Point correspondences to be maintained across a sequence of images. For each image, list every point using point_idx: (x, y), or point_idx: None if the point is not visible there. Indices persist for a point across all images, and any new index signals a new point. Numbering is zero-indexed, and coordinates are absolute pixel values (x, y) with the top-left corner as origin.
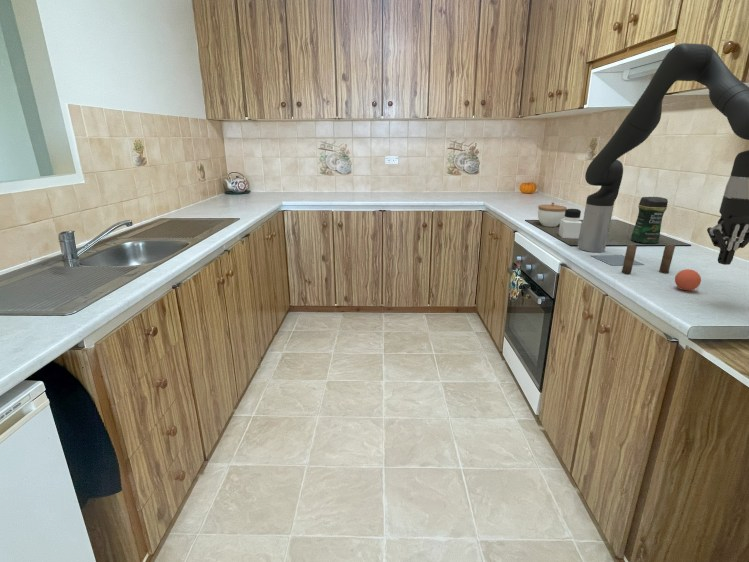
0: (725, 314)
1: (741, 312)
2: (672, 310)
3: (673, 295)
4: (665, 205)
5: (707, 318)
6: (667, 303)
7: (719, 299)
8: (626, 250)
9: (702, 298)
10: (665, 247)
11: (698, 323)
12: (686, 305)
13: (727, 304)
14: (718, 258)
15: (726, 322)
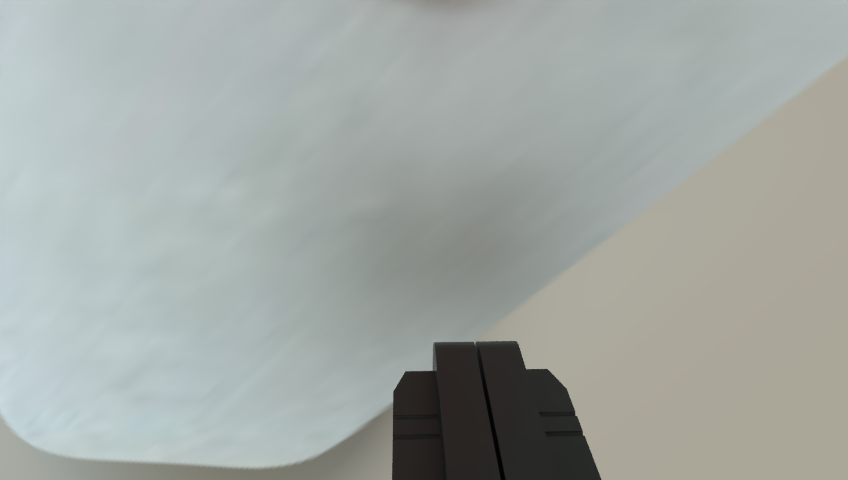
0: (331, 363)
1: None
2: (18, 293)
3: (213, 13)
4: None
5: (173, 400)
6: (49, 179)
7: (539, 137)
8: None
9: (419, 105)
10: None
11: (75, 446)
12: (177, 224)
13: (501, 230)
14: (396, 406)
15: (244, 444)
